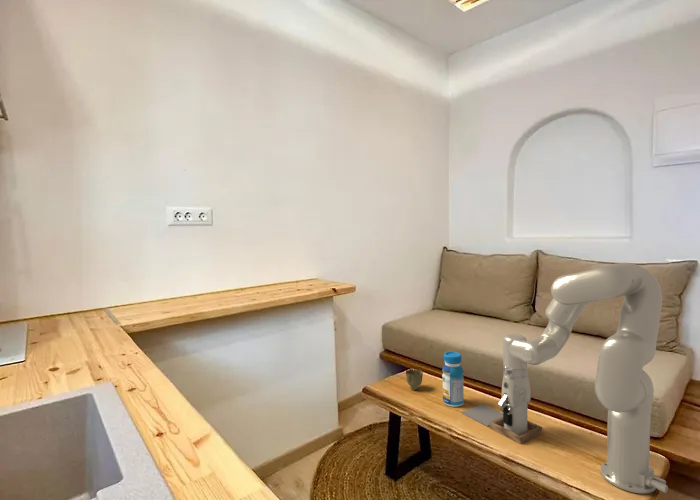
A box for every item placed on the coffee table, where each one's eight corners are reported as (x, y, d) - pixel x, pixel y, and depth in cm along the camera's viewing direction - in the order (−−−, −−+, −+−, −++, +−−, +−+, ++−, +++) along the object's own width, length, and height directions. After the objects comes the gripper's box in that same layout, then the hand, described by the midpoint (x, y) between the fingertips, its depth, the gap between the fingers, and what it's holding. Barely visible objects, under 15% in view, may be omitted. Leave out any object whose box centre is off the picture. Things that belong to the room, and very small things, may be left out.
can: (529, 437, 130) (529, 402, 129) (506, 435, 131) (505, 400, 130) (524, 425, 137) (524, 392, 136) (502, 424, 138) (501, 391, 138)
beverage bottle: (460, 409, 150) (460, 358, 149) (439, 404, 155) (438, 355, 153) (466, 400, 157) (466, 352, 156) (446, 396, 162) (445, 349, 161)
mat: (509, 417, 143) (509, 416, 143) (487, 426, 137) (487, 425, 137) (482, 404, 153) (482, 403, 153) (461, 413, 147) (461, 412, 147)
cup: (403, 386, 173) (403, 368, 173) (419, 384, 174) (419, 367, 174) (409, 393, 166) (409, 375, 165) (425, 391, 167) (425, 373, 167)
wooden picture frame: (542, 432, 132) (542, 427, 132) (520, 443, 126) (520, 437, 126) (511, 418, 142) (511, 413, 142) (489, 427, 136) (489, 422, 136)
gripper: (508, 380, 125) (508, 433, 126) (540, 368, 134) (540, 418, 135) (489, 373, 131) (489, 423, 132) (521, 362, 140) (521, 409, 141)
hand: (515, 420), depth 134 cm, fingers closed on can, 7 cm apart
